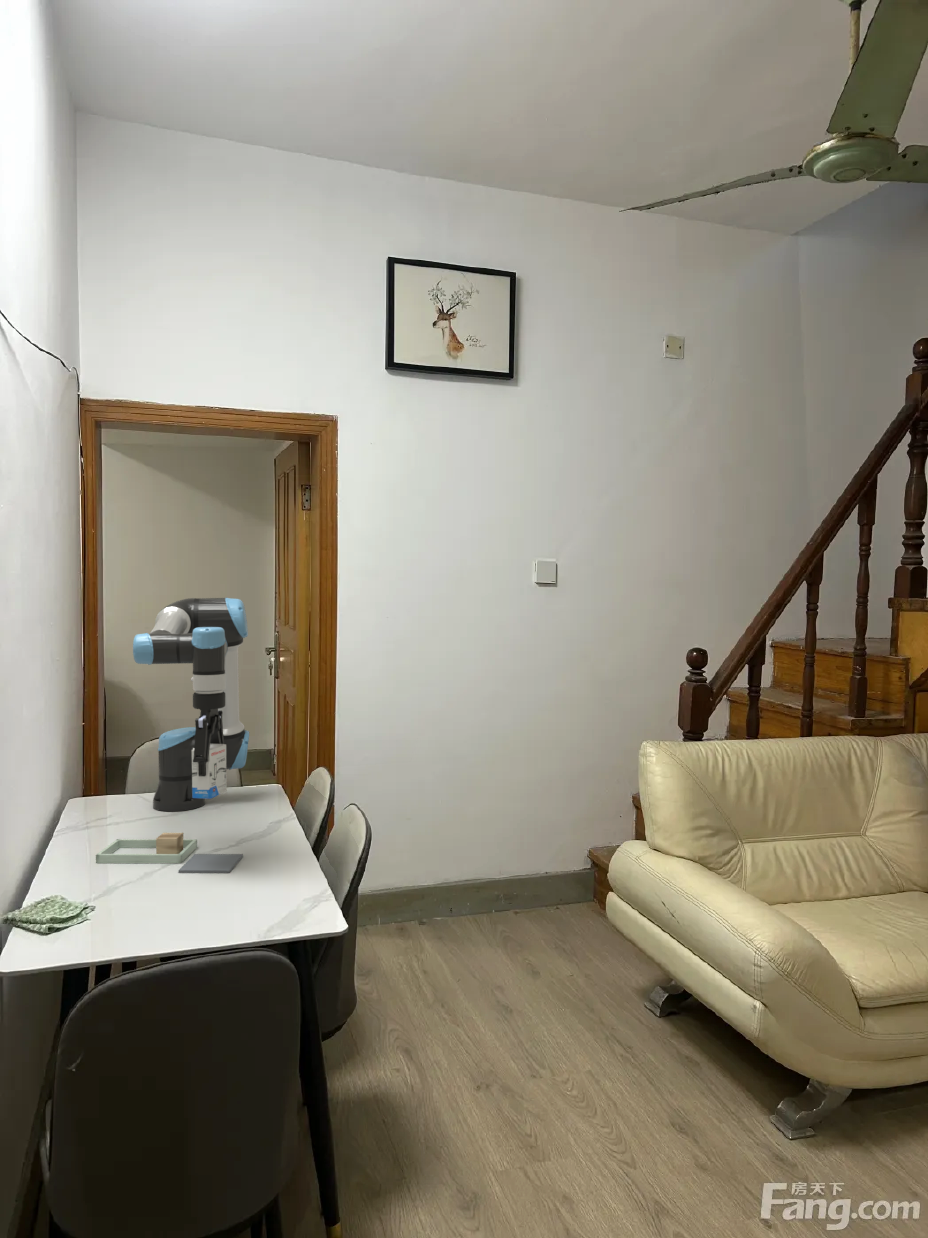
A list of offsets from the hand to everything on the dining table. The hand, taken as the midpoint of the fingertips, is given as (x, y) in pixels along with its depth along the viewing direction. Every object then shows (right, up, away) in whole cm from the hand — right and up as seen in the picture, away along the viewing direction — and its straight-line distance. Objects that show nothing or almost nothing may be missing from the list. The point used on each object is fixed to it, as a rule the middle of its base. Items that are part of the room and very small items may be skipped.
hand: (209, 784), depth 201 cm
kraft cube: (-12, -19, +8) cm, 24 cm away
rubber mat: (0, -20, +1) cm, 20 cm away
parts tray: (-18, -19, +8) cm, 27 cm away
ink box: (0, -3, 0) cm, 3 cm away
